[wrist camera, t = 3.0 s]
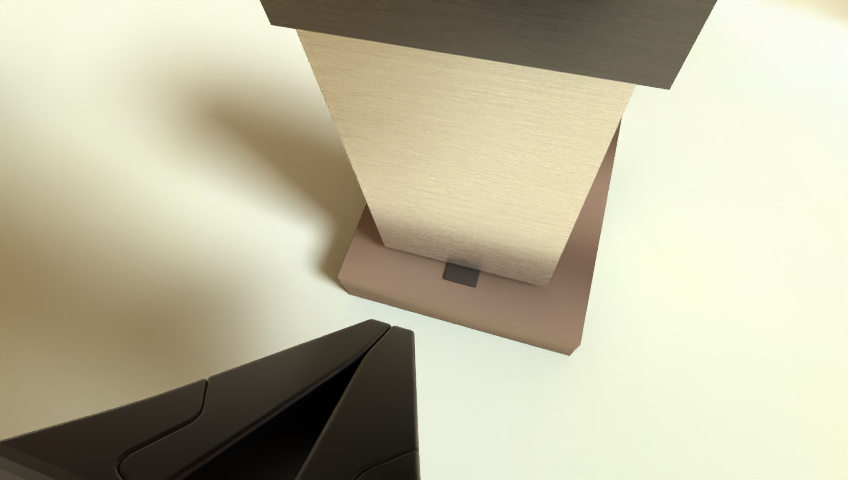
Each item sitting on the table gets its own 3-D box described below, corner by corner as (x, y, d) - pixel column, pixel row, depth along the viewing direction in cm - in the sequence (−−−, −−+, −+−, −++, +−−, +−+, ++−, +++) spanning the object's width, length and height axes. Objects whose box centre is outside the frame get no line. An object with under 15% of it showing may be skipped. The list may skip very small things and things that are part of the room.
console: (569, 355, 18) (602, 321, 14) (349, 294, 20) (313, 245, 15) (633, 16, 25) (669, -83, 20) (464, -7, 27) (462, -102, 22)
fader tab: (561, 291, 17) (732, -28, 6) (372, 243, 18) (219, -87, 7) (576, 216, 18) (744, -171, 7) (398, 176, 19) (299, -197, 8)
